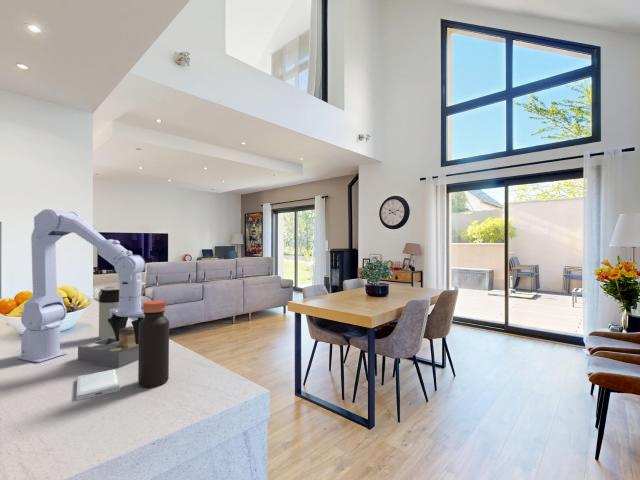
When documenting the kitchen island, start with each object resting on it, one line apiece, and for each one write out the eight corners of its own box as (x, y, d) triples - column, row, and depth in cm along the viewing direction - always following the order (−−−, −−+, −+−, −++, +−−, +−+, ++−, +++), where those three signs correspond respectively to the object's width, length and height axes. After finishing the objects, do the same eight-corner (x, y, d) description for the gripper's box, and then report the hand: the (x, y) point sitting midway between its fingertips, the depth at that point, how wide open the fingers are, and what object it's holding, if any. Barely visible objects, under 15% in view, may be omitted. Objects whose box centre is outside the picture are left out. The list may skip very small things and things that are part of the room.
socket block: (77, 360, 95) (78, 345, 95) (118, 346, 107) (118, 333, 107) (118, 367, 90) (118, 352, 90) (156, 352, 102) (156, 339, 102)
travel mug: (93, 339, 114) (93, 288, 114) (113, 333, 122) (114, 285, 122) (110, 341, 112) (111, 289, 112) (130, 335, 119) (130, 286, 119)
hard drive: (77, 376, 82) (76, 395, 72) (115, 368, 86) (119, 385, 76) (77, 382, 82) (76, 402, 72) (115, 375, 86) (119, 393, 76)
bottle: (169, 374, 85) (170, 298, 85) (167, 385, 79) (168, 303, 79) (140, 378, 83) (141, 300, 83) (135, 390, 77) (136, 305, 77)
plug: (119, 356, 95) (119, 329, 95) (129, 352, 99) (130, 326, 99) (128, 358, 94) (128, 330, 94) (138, 353, 98) (139, 327, 98)
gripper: (99, 296, 95) (99, 342, 95) (137, 300, 91) (136, 348, 91) (121, 293, 102) (121, 336, 102) (157, 296, 97) (157, 341, 97)
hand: (129, 341), depth 97 cm, fingers open, 7 cm apart
